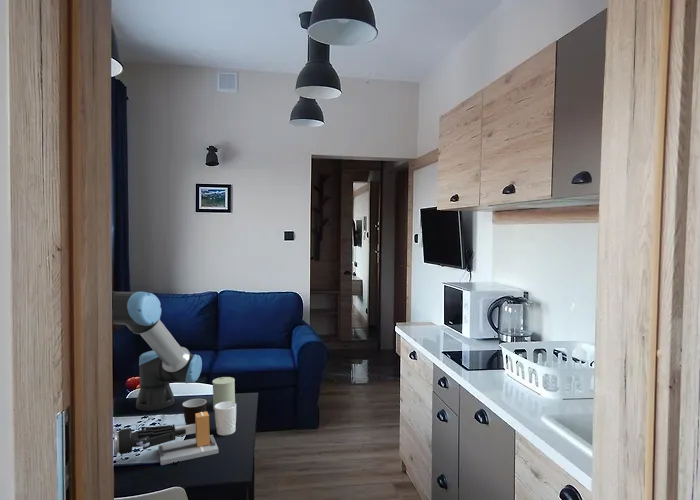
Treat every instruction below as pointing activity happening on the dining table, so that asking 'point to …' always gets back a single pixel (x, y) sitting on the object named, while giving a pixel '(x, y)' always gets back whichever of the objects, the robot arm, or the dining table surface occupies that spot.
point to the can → (223, 390)
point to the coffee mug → (193, 409)
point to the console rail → (185, 450)
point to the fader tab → (202, 428)
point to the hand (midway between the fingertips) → (195, 428)
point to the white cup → (225, 417)
